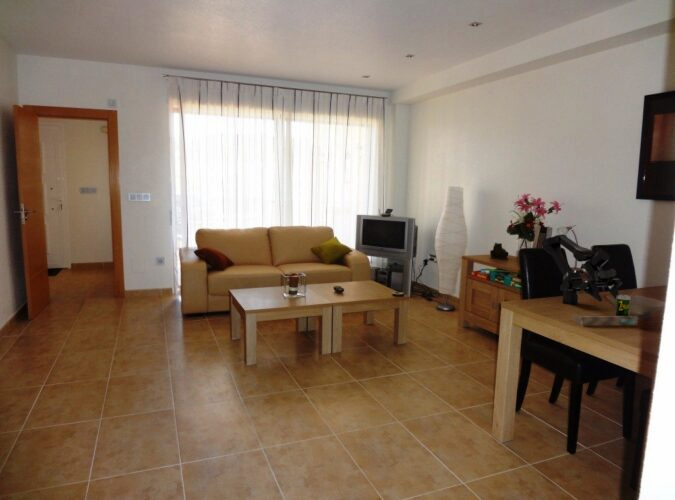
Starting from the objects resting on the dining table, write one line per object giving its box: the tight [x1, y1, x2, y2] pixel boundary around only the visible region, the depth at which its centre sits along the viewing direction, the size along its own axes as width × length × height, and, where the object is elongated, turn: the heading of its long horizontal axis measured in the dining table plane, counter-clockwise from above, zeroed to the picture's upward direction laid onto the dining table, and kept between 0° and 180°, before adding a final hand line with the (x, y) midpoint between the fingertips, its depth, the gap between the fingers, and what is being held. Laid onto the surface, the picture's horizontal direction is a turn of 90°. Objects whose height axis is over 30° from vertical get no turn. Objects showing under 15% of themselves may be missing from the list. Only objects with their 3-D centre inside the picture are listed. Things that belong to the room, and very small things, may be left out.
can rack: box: [571, 313, 639, 327], centre depth 204 cm, size 24×9×4 cm, turn 89°
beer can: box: [614, 294, 631, 316], centre depth 204 cm, size 5×5×12 cm
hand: (609, 300), depth 211 cm, fingers open, 9 cm apart
